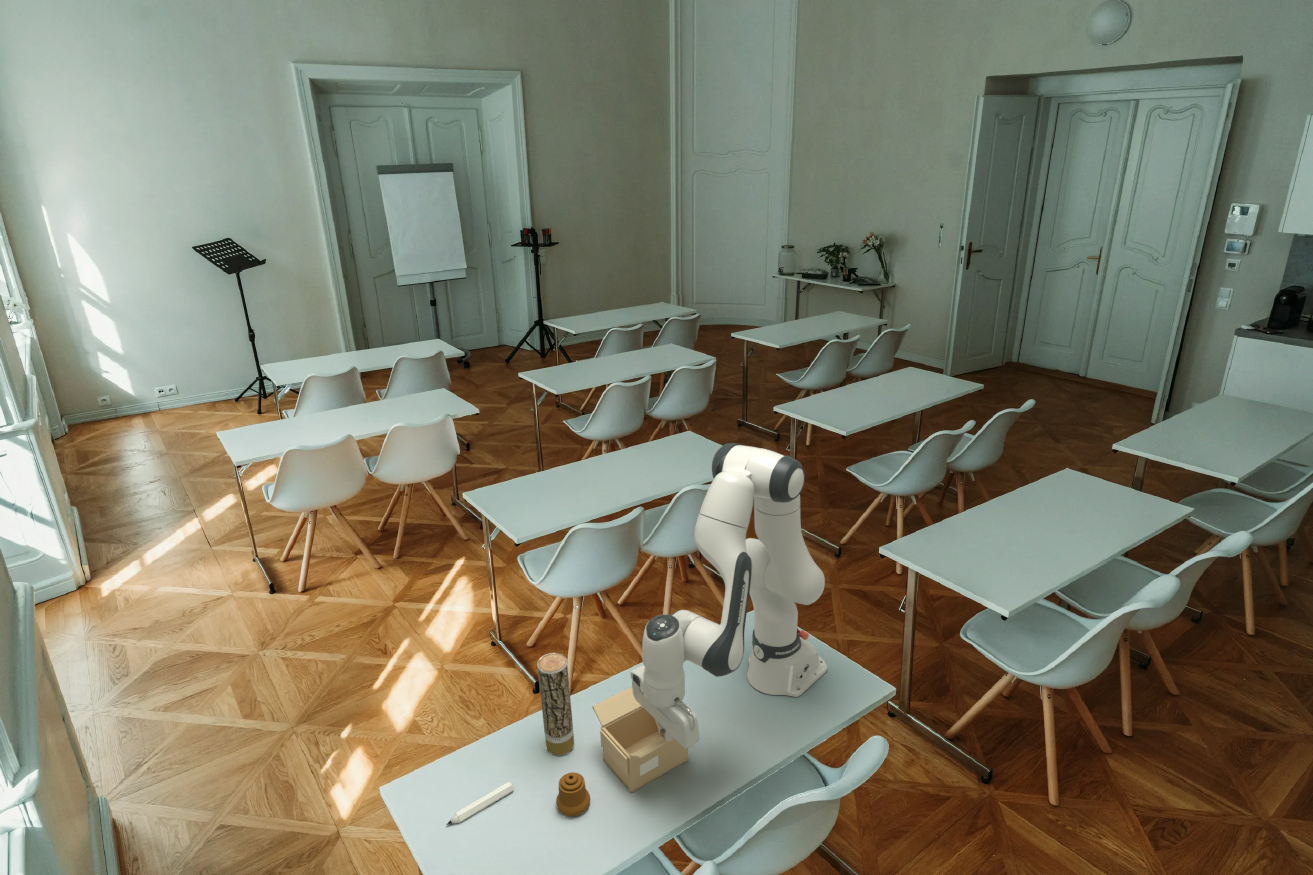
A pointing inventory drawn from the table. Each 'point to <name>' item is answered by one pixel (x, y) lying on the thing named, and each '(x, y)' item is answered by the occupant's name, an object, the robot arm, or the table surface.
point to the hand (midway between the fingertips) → (665, 736)
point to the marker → (481, 803)
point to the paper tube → (556, 703)
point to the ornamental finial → (572, 795)
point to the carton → (631, 737)
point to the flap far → (616, 706)
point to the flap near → (649, 748)
